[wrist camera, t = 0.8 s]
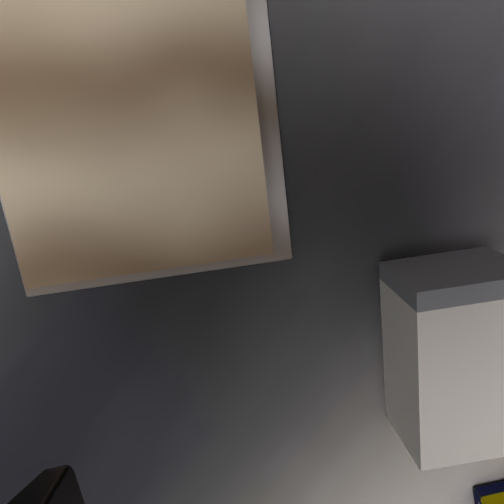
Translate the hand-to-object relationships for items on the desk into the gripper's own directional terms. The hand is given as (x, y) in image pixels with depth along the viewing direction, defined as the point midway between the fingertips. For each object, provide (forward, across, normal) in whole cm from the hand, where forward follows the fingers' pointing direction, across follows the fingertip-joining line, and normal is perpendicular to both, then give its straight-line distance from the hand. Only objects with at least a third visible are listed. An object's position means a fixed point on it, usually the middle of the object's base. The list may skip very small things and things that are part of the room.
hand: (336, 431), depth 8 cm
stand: (+13, +4, -7) cm, 15 cm away
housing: (+13, -8, +6) cm, 16 cm away
